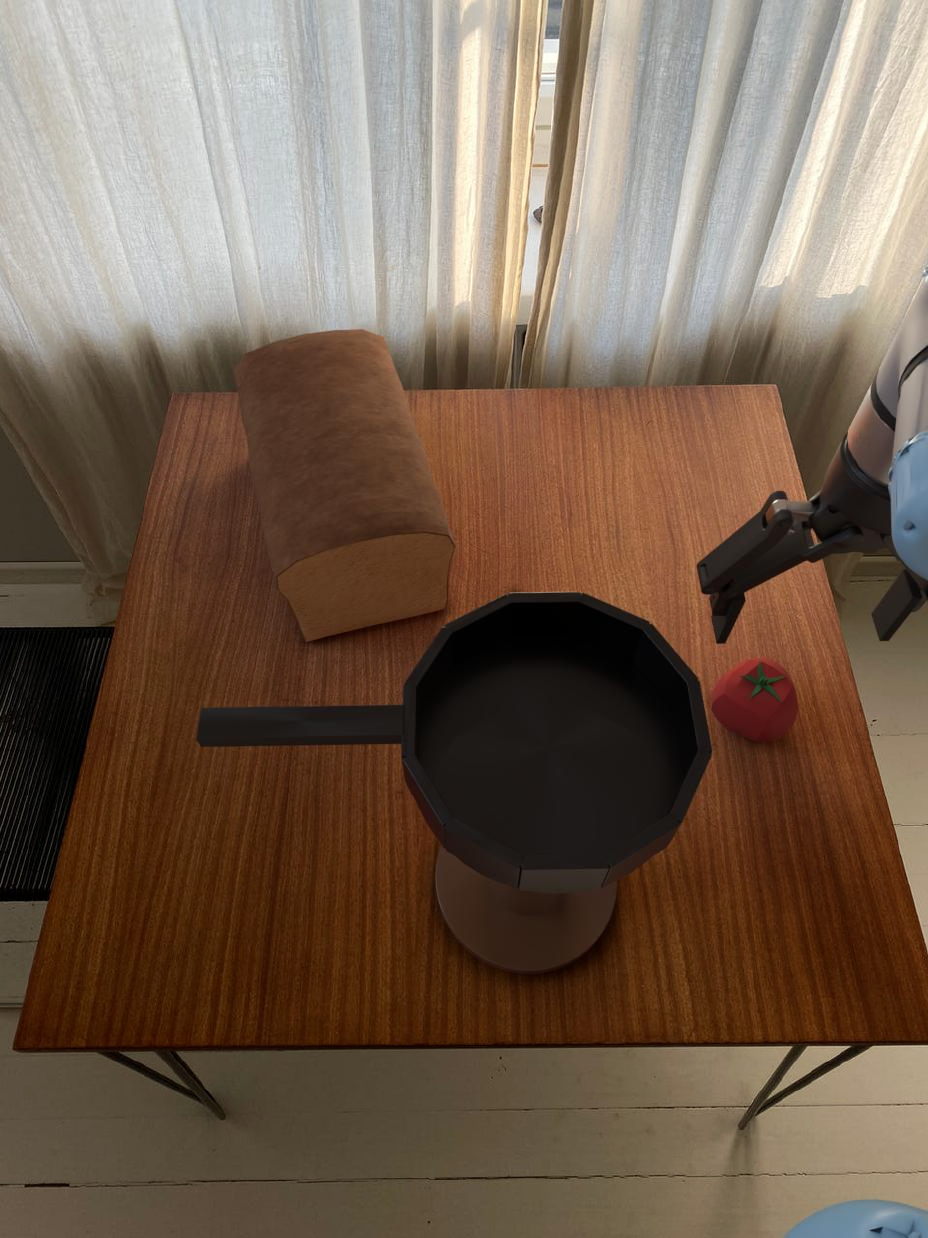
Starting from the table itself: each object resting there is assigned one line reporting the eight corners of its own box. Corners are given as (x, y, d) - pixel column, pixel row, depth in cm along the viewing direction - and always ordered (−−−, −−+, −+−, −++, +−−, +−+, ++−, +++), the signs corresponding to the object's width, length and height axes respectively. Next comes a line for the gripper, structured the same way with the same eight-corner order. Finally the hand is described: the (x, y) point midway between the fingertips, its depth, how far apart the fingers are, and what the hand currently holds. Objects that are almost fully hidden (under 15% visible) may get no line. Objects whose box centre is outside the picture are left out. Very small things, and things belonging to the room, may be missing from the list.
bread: (293, 650, 91) (262, 558, 78) (253, 447, 107) (221, 341, 93) (460, 610, 94) (458, 514, 80) (397, 418, 109) (386, 310, 96)
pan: (635, 983, 73) (733, 866, 46) (285, 988, 73) (172, 875, 46) (613, 785, 83) (683, 589, 55) (303, 790, 83) (219, 596, 55)
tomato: (692, 719, 86) (708, 685, 80) (733, 665, 90) (752, 628, 84) (764, 767, 84) (786, 735, 78) (803, 709, 87) (828, 674, 81)
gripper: (1077, 407, 57) (933, 589, 75) (698, 414, 57) (645, 594, 75) (1125, 495, 53) (961, 665, 71) (717, 502, 53) (656, 670, 71)
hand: (798, 628), depth 73 cm, fingers open, 13 cm apart
